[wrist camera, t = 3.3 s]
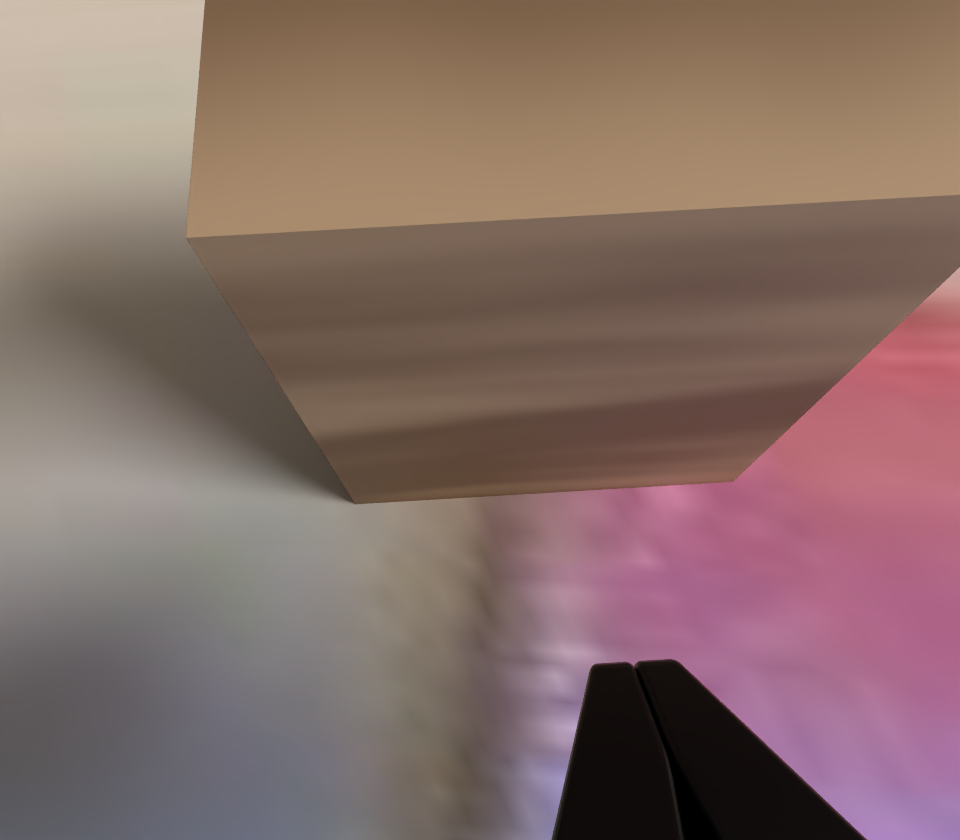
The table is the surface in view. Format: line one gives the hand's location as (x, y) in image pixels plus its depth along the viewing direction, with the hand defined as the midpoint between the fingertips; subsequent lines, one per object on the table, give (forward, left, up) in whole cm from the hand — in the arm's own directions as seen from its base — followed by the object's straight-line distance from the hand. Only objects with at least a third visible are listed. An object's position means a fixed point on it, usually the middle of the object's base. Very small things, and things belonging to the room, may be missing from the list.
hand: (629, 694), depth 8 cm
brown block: (+4, +4, -8) cm, 10 cm away
